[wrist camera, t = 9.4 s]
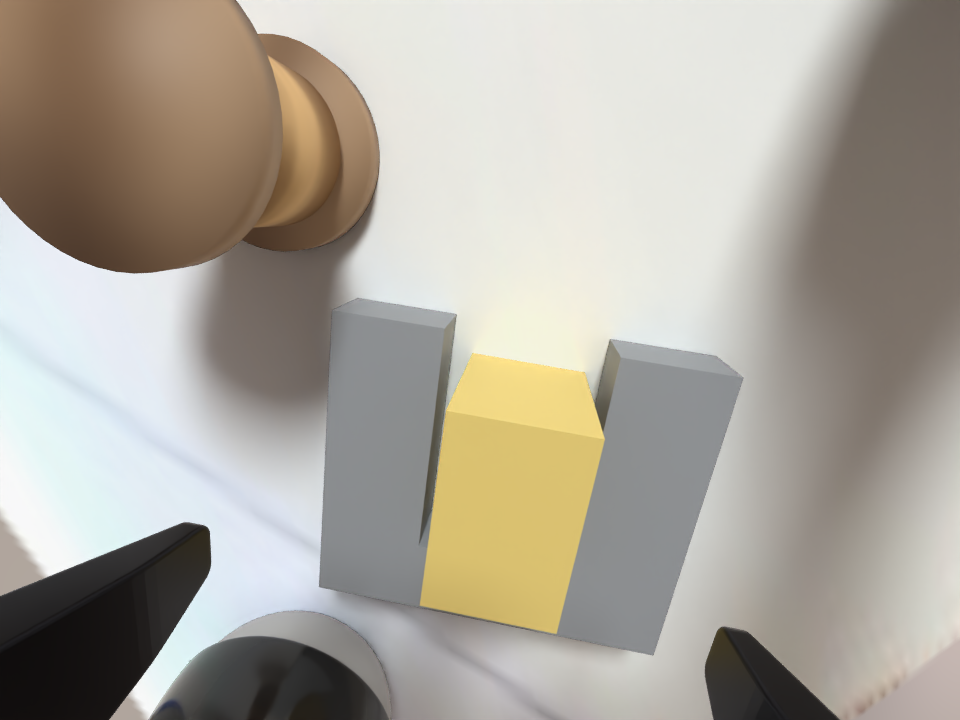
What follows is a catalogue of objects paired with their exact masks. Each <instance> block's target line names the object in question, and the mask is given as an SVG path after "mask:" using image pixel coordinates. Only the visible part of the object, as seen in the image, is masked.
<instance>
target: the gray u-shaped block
mask: <svg viewBox="0 0 960 720" xmlns="http://www.w3.org/2000/svg"><path fill="white" fill-rule="evenodd" d="M455 322H456V314H452V313H446V312H440V311H433V310H427V309H421V308H415V307H409V306H403V305H396V304H390V303H384V302H378V301H372V300H366V299H359V298H357V299H355V300H353V301H350V302H348V303H346V304H344V305H342V306H340V307H338V308H335V309H333V310H332V322H331V343H330V364H329V386H328V407H327V429H326V450H325V471H324V493H323V514H322V536H321V557H320V578H319V587H321V588H326V589H331V590H336V591H341V592H345V593H350V594H355V595H360V596H365V597H370V598H375V599H380V600H385V601H389V602H394V603H399V604H404V605H409V606H414V607H419V608H424V609H429V610H433V611H438V612H443V613H448V614H453V615H458V616H463V617H468V618H473V619H477V620H482V621H487V622H492V623H497V624H502V625H507V626H512V627H516V628H521V629H526V630H531V631H536V632H541V633H546V634H551V635H556V636H560V637H565V638H570V639H575V640H580V641H585V642H590V643H595V644H600V645H604V646H609V647H614V648H619V649H624V650H629V651H634V652H639V653H644V654H648V655H654V652H655V649H656V646H657V643H658V640H659V636H660V633H661V630H662V627H663V624H664V621H665V618H666V615H667V612H668V609H669V606H670V603H671V600H672V596H673V593H674V590H675V587H676V584H677V581H678V578H679V575H680V572H681V569H682V566H683V563H684V559H685V556H686V553H687V550H688V547H689V544H690V541H691V538H692V535H693V532H694V529H695V526H696V522H697V519H698V516H699V513H700V510H701V507H702V504H703V501H704V498H705V495H706V492H707V489H708V486H709V482H710V479H711V476H712V473H713V470H714V467H715V464H716V461H717V458H718V455H719V452H720V449H721V445H722V442H723V439H724V436H725V433H726V430H727V427H728V424H729V421H730V418H731V415H732V412H733V408H734V405H735V402H736V399H737V396H738V393H739V390H740V387H741V384H742V381H743V377H742V376H741V375H739V374H738V373H737V372H736V371H734V370H733V369H732V368H731V367H729V366H728V365H727V364H726V363H724V362H723V361H722V360H720V359H719V358H718V357H717V356H711V355H705V354H699V353H693V352H686V351H680V350H674V349H668V348H662V347H656V346H649V345H643V344H637V343H631V342H625V341H619V340H612V339H610V342H609V347H608V351H607V355H606V360H605V364H604V369H603V373H602V377H601V382H600V386H599V390H598V395H597V399H596V403H595V408H596V411H597V415H598V418H599V421H600V425H601V428H602V431H603V435H604V438H605V441H604V445H603V449H602V453H601V457H600V461H599V465H598V469H597V473H596V477H595V481H594V485H593V489H592V493H591V497H590V501H589V505H588V509H587V513H586V517H585V521H584V526H583V530H582V534H581V538H580V542H579V546H578V550H577V554H576V558H575V562H574V566H573V570H572V574H571V578H570V582H569V586H568V590H567V594H566V598H565V602H564V606H563V610H562V614H561V618H560V622H559V626H558V630H557V634H554V633H549V632H544V631H539V630H534V629H530V628H525V627H520V626H515V625H511V624H506V623H501V622H496V621H491V620H487V619H482V618H477V617H472V616H467V615H463V614H458V613H453V612H448V611H444V610H439V609H434V608H429V607H424V606H420V600H421V592H422V585H423V577H424V570H425V563H426V555H427V548H428V540H429V533H430V526H431V518H432V511H433V510H432V503H433V495H434V488H435V480H436V472H437V464H438V456H439V448H440V440H441V432H442V424H443V417H444V409H445V401H446V393H447V385H448V377H449V369H450V361H451V353H452V346H453V338H454V330H455Z"/></svg>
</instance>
